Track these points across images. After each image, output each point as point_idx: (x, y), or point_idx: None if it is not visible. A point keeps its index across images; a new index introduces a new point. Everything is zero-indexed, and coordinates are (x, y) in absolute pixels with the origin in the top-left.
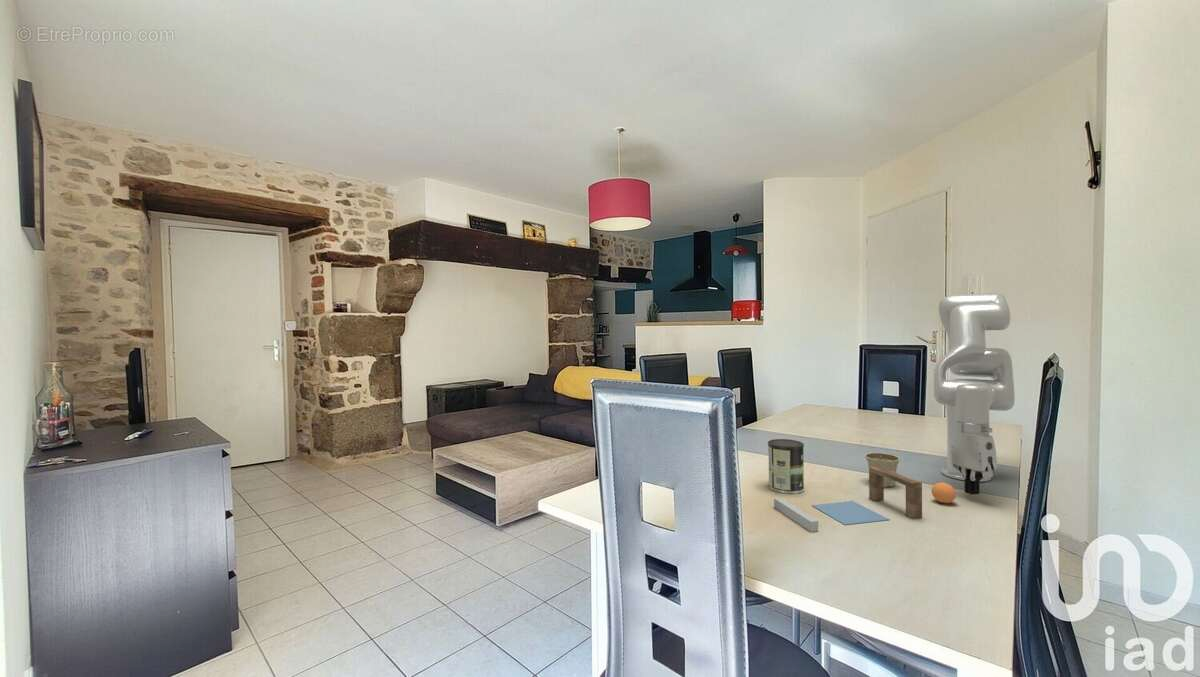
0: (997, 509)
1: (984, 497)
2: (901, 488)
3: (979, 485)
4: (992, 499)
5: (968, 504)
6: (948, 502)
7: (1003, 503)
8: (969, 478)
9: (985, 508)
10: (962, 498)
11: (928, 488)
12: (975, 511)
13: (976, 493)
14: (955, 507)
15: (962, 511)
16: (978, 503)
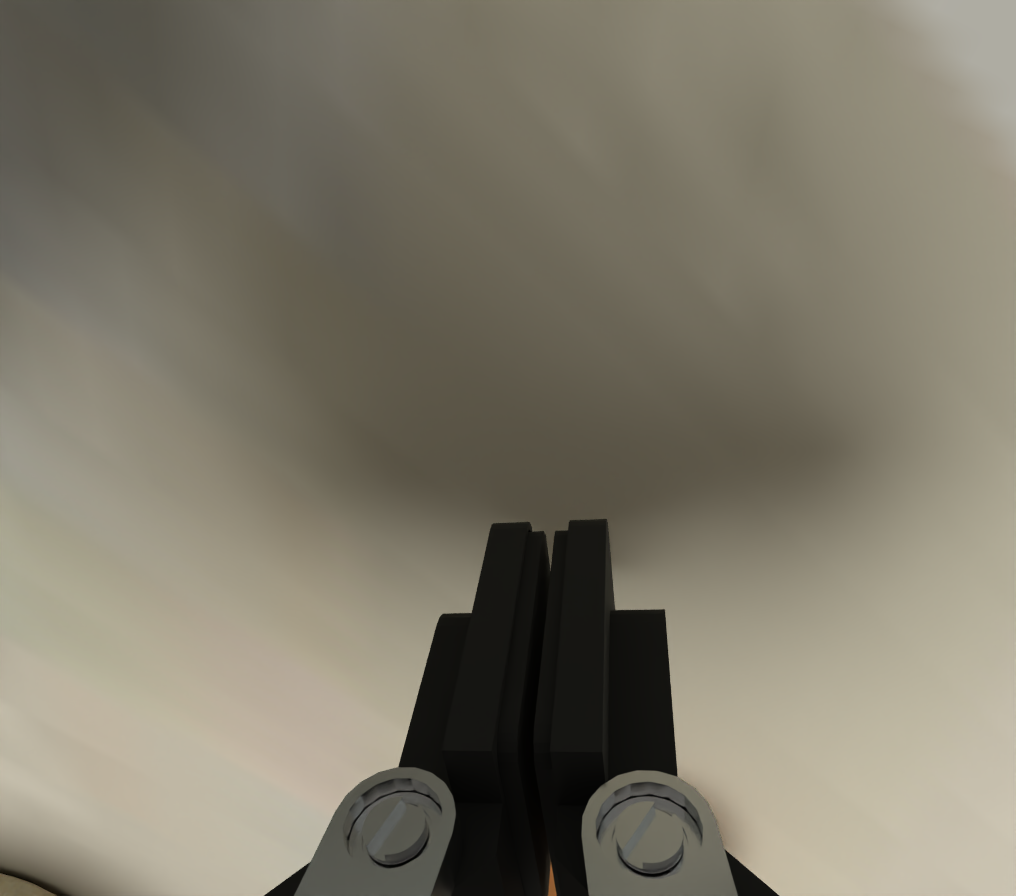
0: (1011, 496)
1: (468, 210)
2: (126, 878)
3: (671, 701)
4: (592, 149)
5: (708, 680)
6: None
7: (840, 128)
8: (514, 891)
9: (905, 611)
10: None
11: (74, 670)
12: (932, 777)
13: (610, 572)
14: (751, 848)
15: (874, 871)
16: (710, 544)
